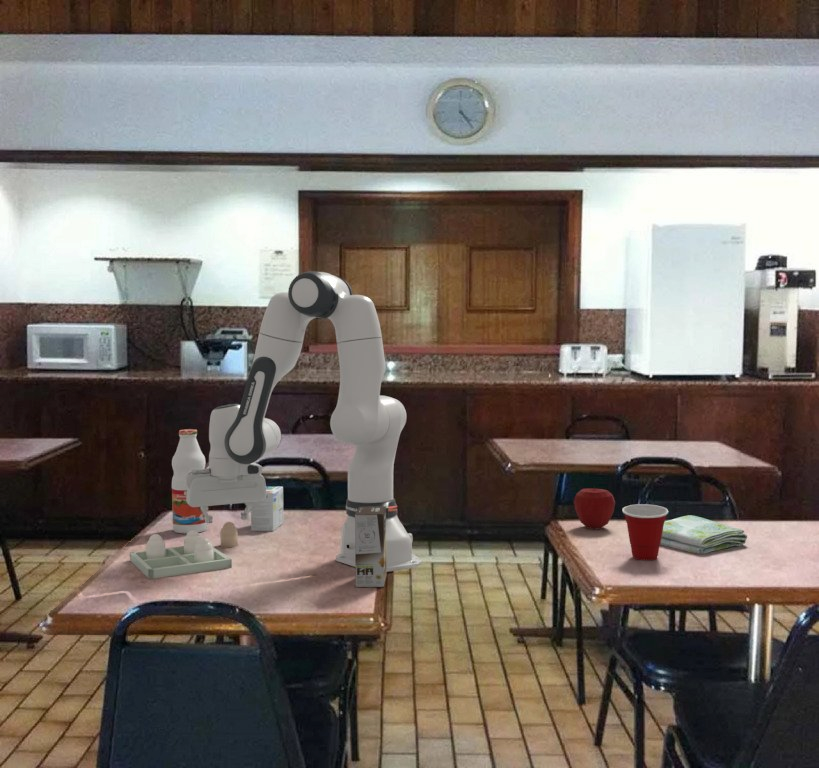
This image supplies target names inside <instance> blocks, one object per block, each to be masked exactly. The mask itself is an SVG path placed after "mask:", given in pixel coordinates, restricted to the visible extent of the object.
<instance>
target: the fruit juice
mask: <svg viewBox="0 0 819 768" xmlns="http://www.w3.org/2000/svg"><path fill="white" fill-rule="evenodd" d="M197 435H198V430H197V429H193V428H186V429H180V430H179V431H178V436H179V441H178V444H177V447H176V451H175V452H174V455H173V456H172V459H171V466H172V471H173V476H172V478H171V498H172V499H171V501H172V502H171V503H172V504H171V505H172V506H171V507H172V511H171V512H172V529H173V530H172V531H173V532H174V533H177V534H184V535H187V533H188V532H189V531H190V530H196V531H197V532H198V533H202V532H205V531H207V530H208V524H209V523H205V516H204V514H203V512H202V511H201V507H191V506H190V505H188V503H187V502H186V497H187V488H188V486H187V484H186V477H187V475H188V473H190V472H192V470H202V469H206V464H207V463H206V457H205V455H204V454H203V451H202V450H201V446H200V445H199V442H198V439H197ZM191 474H192V473H191ZM206 511H207V512H208V510H206Z"/></svg>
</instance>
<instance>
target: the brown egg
mask: <svg viewBox="0 0 819 768" xmlns="http://www.w3.org/2000/svg"><path fill="white" fill-rule="evenodd" d="M219 534H220V535H219V536H220V547H221V548H235V547H238V546H239V531H238V528H237V526H235V523H234V522H232V521H226V522H225V523H224V524H223V525H222V528H221V529H220V533H219Z"/></svg>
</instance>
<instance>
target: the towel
mask: <svg viewBox="0 0 819 768" xmlns="http://www.w3.org/2000/svg"><path fill="white" fill-rule="evenodd" d="M747 539H748V535H747V534H745V530H744V529H742V528H740V527H739V528H738V527H733V526H729V525H726V524H723V523H719V522H718V521H714V520H710V519H709V518H708V519H707V518H704V517H700V516H697V515H692V514H691V515H689V514H687V515H684V516H680V517H676V518H673V519H668V520H665V522H664V526H663V531H662V537H661V543H660V545H662V546H664V547H669V548H673V549H677V550H681V551H685V552H688V553H691V554H698V555H700V554H709V553H712V552H715V551H719V550H720V551H721V550H724V549H727V548H730V547H735V546H736V547H742V545H743V546H744V544H746V542H747Z"/></svg>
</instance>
